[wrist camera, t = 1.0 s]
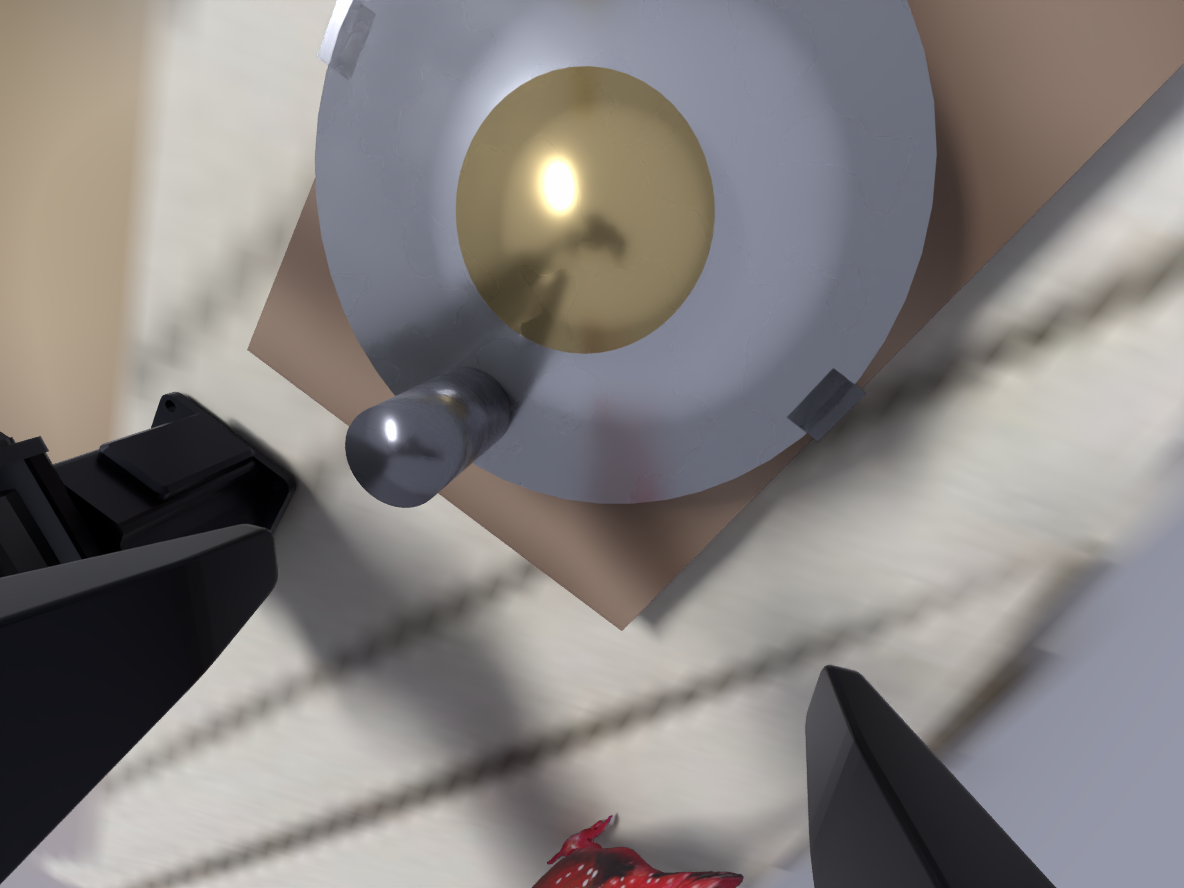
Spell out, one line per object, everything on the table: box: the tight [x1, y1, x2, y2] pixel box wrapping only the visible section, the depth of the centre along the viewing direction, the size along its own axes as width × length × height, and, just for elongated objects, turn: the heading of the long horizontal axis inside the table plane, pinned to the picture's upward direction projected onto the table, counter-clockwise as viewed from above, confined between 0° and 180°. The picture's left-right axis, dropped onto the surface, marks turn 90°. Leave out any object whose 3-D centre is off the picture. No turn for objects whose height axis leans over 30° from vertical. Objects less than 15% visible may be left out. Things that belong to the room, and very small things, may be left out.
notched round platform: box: [315, 0, 937, 508], centre depth 13 cm, size 16×16×6 cm
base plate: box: [247, 0, 1184, 631], centre depth 17 cm, size 22×17×2 cm
